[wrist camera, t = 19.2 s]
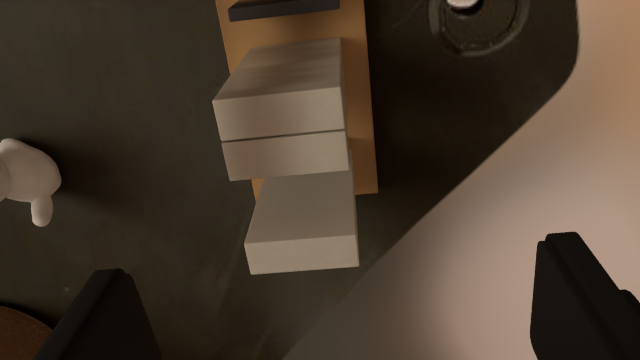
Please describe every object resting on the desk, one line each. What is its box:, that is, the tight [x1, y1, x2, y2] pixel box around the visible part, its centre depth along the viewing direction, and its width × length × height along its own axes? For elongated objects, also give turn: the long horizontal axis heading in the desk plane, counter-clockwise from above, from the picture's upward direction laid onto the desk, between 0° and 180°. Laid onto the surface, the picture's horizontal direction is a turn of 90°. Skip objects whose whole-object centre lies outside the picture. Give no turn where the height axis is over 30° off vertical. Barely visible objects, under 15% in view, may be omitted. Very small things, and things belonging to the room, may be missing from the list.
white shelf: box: [213, 0, 378, 202], centre depth 32 cm, size 10×16×13 cm, turn 7°
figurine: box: [0, 138, 61, 227], centre depth 38 cm, size 5×8×8 cm
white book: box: [244, 149, 359, 274], centre depth 34 cm, size 6×2×12 cm, turn 97°
